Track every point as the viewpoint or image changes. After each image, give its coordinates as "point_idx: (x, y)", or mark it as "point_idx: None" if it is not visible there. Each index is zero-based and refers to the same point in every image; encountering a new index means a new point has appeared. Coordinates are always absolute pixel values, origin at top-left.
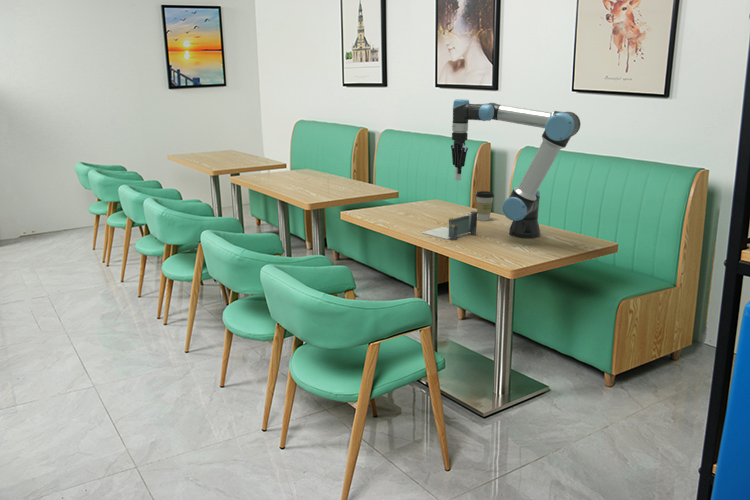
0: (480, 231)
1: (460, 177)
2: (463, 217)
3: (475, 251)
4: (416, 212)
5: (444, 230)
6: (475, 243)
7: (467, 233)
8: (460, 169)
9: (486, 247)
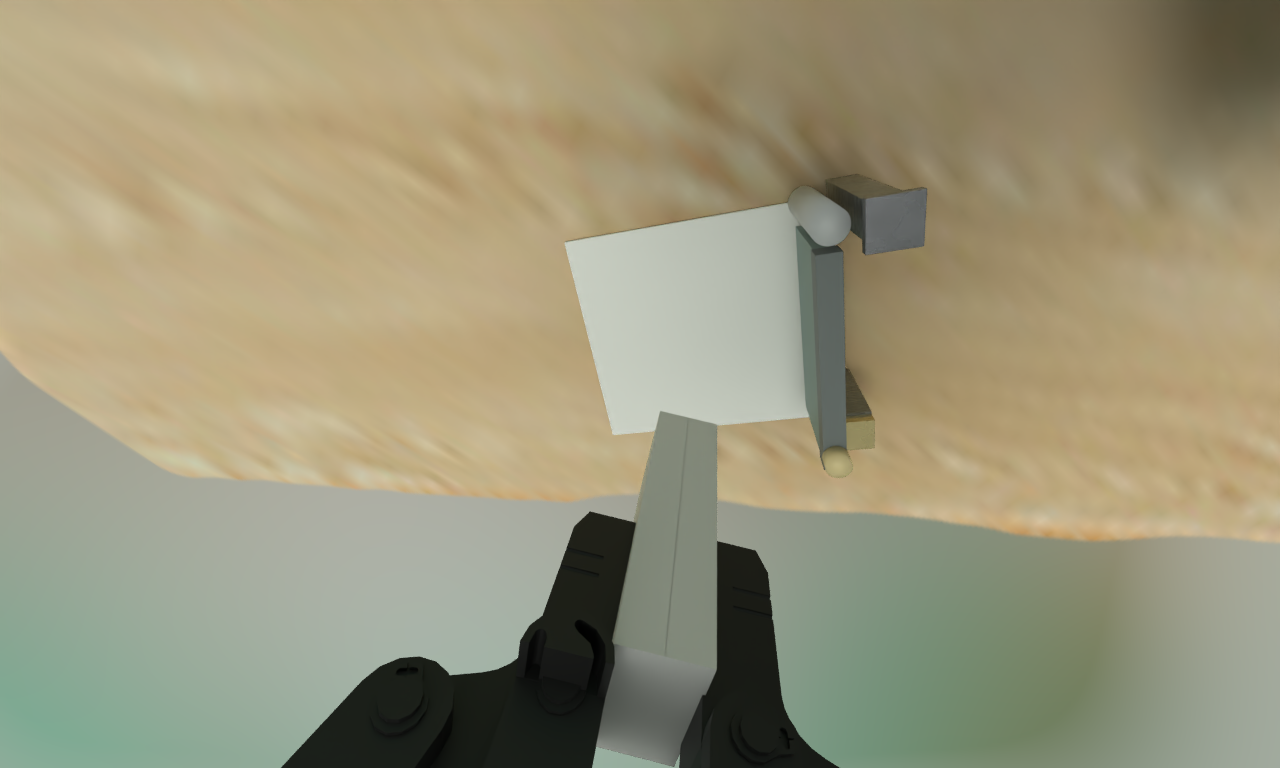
0: (812, 58)
1: (714, 469)
2: (843, 330)
3: (1104, 458)
4: (76, 88)
5: (649, 300)
6: (1001, 343)
7: None
8: (764, 675)
9: (1120, 354)
